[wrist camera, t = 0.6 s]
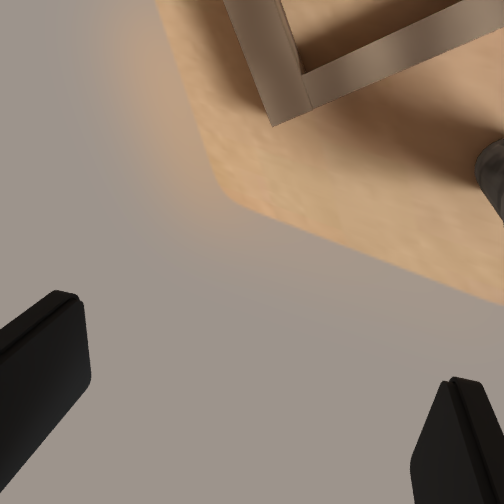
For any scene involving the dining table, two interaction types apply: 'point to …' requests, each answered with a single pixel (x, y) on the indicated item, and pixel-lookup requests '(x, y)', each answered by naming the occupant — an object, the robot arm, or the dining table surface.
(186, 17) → the dining table surface
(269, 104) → the wooden corner bracket
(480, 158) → the beverage cup
